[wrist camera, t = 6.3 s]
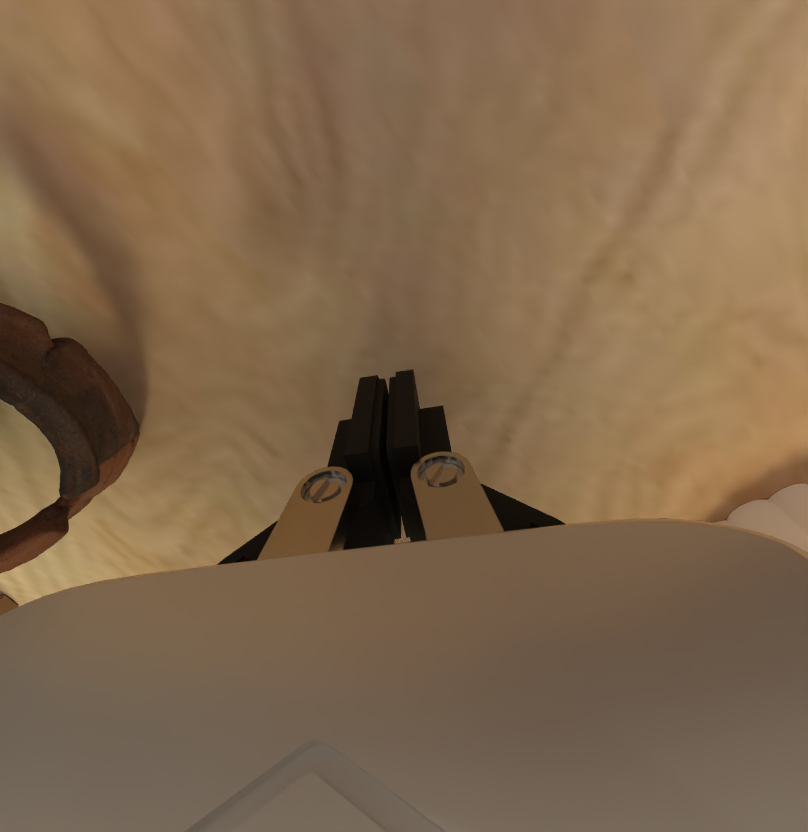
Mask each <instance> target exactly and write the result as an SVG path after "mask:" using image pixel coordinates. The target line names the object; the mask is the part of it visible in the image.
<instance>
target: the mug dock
mask: <svg viewBox="0 0 808 832" xmlns="http://www.w3.org/2000/svg"><path fill="white" fill-rule="evenodd" d="M17 607H19V606H18V605H17V604H15V603H14V602H13V601H12V600H11V599H9V598H8V597H7V596H6V595H1V596H0V615H2V614H4V613H6V612H8V611H10V610H12V609H14V608H17Z"/></svg>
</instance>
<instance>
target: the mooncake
mask: <svg viewBox="0 0 808 832" xmlns="http://www.w3.org/2000/svg"><path fill="white" fill-rule="evenodd" d="M715 523H716V524H722V525H728V526H735V527H739V528H743V529H748V530H752V531H756V532H759V533H763V534H766V535H769V536H773V537H776V538H778V539H781V540H783V541H786V542H788V543H790V544H793V545H795V546H797V547H799V548H801V549H802V550H804V551H806V552H808V484H806V483H802V484H795V485H791V486H788V487H785V488H783V489H781V490H779V491H778V492H776V493H775V494H773V495H772V496H771V497H770V498H769V499H768V500H754V501H751V502H748V503H745V504H743V505H741V506H739V507H738V508H736V509H735V510H734V511H732V512H731V514H730V515H729V516H728V518H727V520H723V521H718V522H715Z"/></svg>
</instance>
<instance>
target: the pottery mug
mask: <svg viewBox="0 0 808 832" xmlns="http://www.w3.org/2000/svg"><path fill="white" fill-rule="evenodd" d="M0 399H2V400H3V401H5V402H7V403H8V404H10V405H13V406H14V407H15V408H16V410H17V411H19V412H20V413H21V414H23V415H24V416H25V417H26V418H28V419H29V420H30V421H32V422H33V423H34V424H35V425H36V426H37V427H38V428H39V429H40V430H41V432H42V433H43V434H44V435H45V436H46V438H47V439H48V440H49V442H50V443H51V444H52V446H53V448H54V450H55V453H56V455H57V458H58V461H59V465H60V470H61V475H60V488H59V493H60V498H59V499H58V500H57V501H56V502H55V503H53V504H51V505H50V506H48V507H46V508H45V509H43V510H41V511H40V512H39V513H38V514H36V515H35V516H34V517H32V518H31V519H29V520H28V521H26V522H25V523H23V524H21V525H20V526H18V527H16V528H14V529H12V530H10V531H7V532H5V533H3V534H0V573H2V572H5V571H9V570H11V569H13V568H15V567H17V566H19V565H21V564H23V563H26V562H28V561H30V560H32V559H34V558H36V557H37V556H38V555H39V554H41V553H43V552H44V551H45V550H47V549H48V548H50V547H51V546H53V545H54V544H55V543H56V542H58V541H59V540H60V539H61V538H62V537H63V536H64V535H66V534H67V532H68V530H69V524H68V520H69V519H70V518H71V517H73V516H74V515H76V514H77V513H78V512H80V511H81V510H82V509H83V508H84V507H85V506H87V505H88V504H89V503H90V501H91V500H92V499H93V497H94V496H96V495H98V494H99V493H101V492H102V491H103V490H105V489H106V488H107V487H108V486H110V485H111V484H113V483H114V482H115V481H116V480H117V479H118V478H119V476H120V475H121V473H122V472H123V470H124V469H125V467H126V465H127V464H128V462H129V459H130V457H131V456H132V454H133V452H134V450H135V447H136V444H137V441H138V438H139V435H140V432H139V431H138V423H137V421H136V419H135V417H134V415H133V413H132V410H131V408H130V407H129V405H128V403H127V402H126V400H125V398H124V397H123V395H122V394H121V393H120V391H119V389H118V387H117V386H116V384H115V383H114V382H113V380H112V379H111V378H110V377H109V375H108V374H107V372H106V371H105V370H104V369H103V368H102V367H101V366H100V365H99V364H98V363H97V362H96V361H95V360H94V359H93V358H92V357H91V356H90V355H89V353H88V352H87V351H86V349H85V348H84V347H83V346H82V345H80V344H79V343H78V342H76V341H75V340H73V339H71V338H56V339H50V336H49V333H48V329H47V327H46V325H45V324H44V323H43V322H42V321H41V320H39V319H37V318H36V317H33V316H31V315H29V314H27V313H25V312H23V311H20V310H18V309H16V308H14V307H11V306H8V305H5V304H2V303H0Z"/></svg>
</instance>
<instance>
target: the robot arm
mask: <svg viewBox="0 0 808 832" xmlns="http://www.w3.org/2000/svg"><path fill="white" fill-rule="evenodd" d="M401 517H402V521H403V525H404V530H405V534H406V537H407V538H408V537H410V539H411V542H407V543H398V544H394V539H399V538H401ZM0 832H808V552H806V551H804V550H802V549H801V548H799V547H797V546H795V545H793V544H790V543H788V542H786V541H783V540H781V539H778V538H776V537H773V536H769V535H766V534H763V533H759V532H756V531H752V530H748V529H743V528H739V527H735V526H728V525H722V524H716V523H710V522H704V521H696V520H681V519H666V518H658V519H625V520H612V521H600V522H588V523H576V524H565V523H563V522H562V521H560V520H558V519H556V518H554V517H552V516H549V515H547V514H545V513H543V512H541V511H539V510H537V509H534V508H532V507H530V506H528V505H526V504H524V503H522V502H519V501H517V500H515V499H513V498H511V497H509V496H506V495H504V494H502V493H500V492H498V491H496V490H494V489H491V488H489V487H487V486H485V485H483V484H481V483H480V482H479V480H478V478H477V476H476V474H475V472H474V470H473V468H472V466H471V464H470V463H469V461H468V460H467V459H466V458H465V457H463V456H462V455H460V454H457V453H453V452H451V446H450V441H449V436H448V430H447V425H446V420H445V414H444V409H443V406H438V407H431V408H424V409H420V407H419V401H418V395H417V389H416V383H415V377H414V372H413V370H407V371H401V372H396V377H392V378H390V382H389V394H388V389H387V384H386V381H385V379H379V377H378V375H375V376H368V377H362V378H360V380H359V385H358V390H357V394H356V399H355V404H354V409H353V414H352V418H351V419H348V420H342V421H339V424H338V428H337V432H336V435H335V439H334V443H333V447H332V451H331V455H330V459H329V463H328V467H325V468H322V469H319V470H316V471H314V472H312V473H310V474H308V475H307V476H306V477H304V478H303V479H302V480H301V481H300V482H299V484H298V485H297V486H296V488H295V490H294V492H293V494H292V496H291V497H290V499H289V501H288V503H287V505H286V507H285V509H284V511H283V512H282V514H281V516H280V518H279V520H278V521H276V522H275V523H274V524H272V525H271V526H269V527H268V528H267V529H265V530H264V531H262V532H261V533H260V534H258V535H257V536H255V537H254V538H253V539H251V540H250V541H248V542H247V543H246V544H244V545H243V546H241V547H240V548H239V549H237V550H236V551H234V552H233V553H232V554H230V555H229V556H227V557H226V558H225V559H223V560H222V561H221V562H220V563H218V564H217V565H213V566H205V567H197V568H189V569H181V570H173V571H165V572H157V573H149V574H142V575H136V576H129V577H123V578H117V579H110V580H104V581H98V582H94V583H90V584H85V585H81V586H77V587H72V588H69V589H66V590H62V591H59V592H56V593H53V594H50V595H46V596H43V597H41V598H38V599H36V600H34V601H31V602H29V603H26V604H24V605H22V606H19V607H17V608H14V609H12V610H10V611H8V612H6V613H4V614H2V615H0Z"/></svg>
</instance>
